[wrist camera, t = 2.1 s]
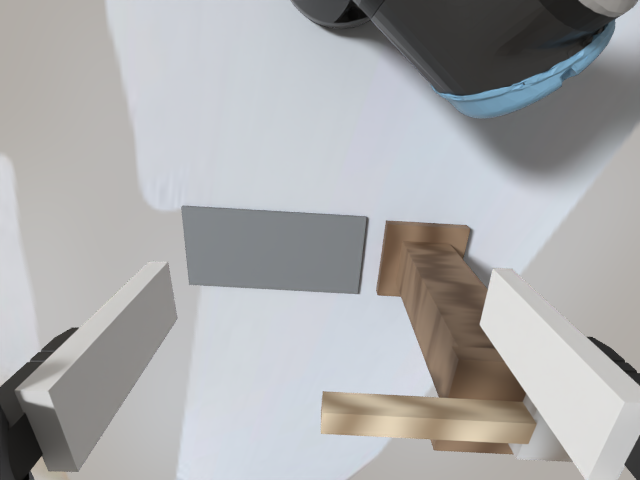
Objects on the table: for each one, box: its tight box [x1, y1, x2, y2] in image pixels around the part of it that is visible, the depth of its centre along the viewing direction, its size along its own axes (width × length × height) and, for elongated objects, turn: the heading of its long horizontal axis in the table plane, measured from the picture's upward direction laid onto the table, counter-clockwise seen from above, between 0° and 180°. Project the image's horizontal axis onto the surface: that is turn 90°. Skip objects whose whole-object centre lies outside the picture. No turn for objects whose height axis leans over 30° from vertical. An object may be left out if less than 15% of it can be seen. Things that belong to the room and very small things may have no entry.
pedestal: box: [376, 221, 526, 454], centre depth 41 cm, size 12×12×28 cm
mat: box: [181, 206, 366, 294], centre depth 53 cm, size 27×13×1 cm, turn 87°
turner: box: [321, 391, 573, 462], centre depth 27 cm, size 23×7×2 cm, turn 87°
